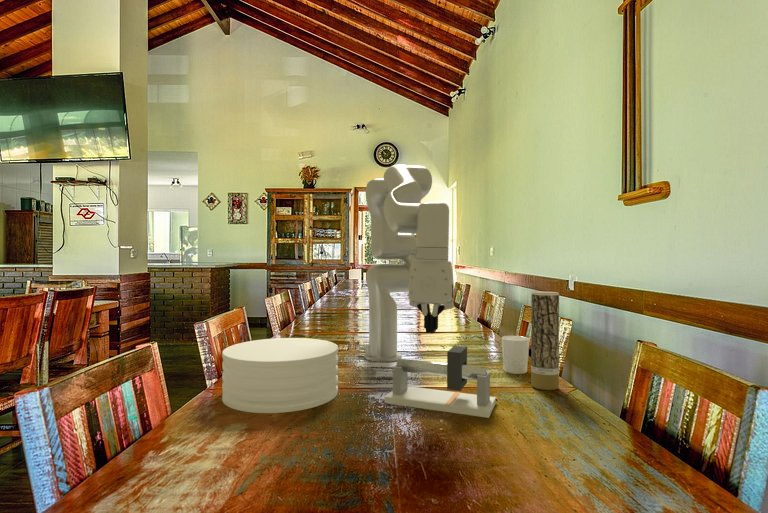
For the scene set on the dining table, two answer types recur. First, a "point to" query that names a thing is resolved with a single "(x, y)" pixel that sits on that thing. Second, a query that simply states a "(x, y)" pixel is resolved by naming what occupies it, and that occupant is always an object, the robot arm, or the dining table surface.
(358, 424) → the dining table surface
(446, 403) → the orange strap
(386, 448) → the dining table surface
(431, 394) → the pipe stand
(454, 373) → the collar
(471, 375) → the pipe
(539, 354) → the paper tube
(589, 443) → the dining table surface
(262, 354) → the plate stack
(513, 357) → the white cup
